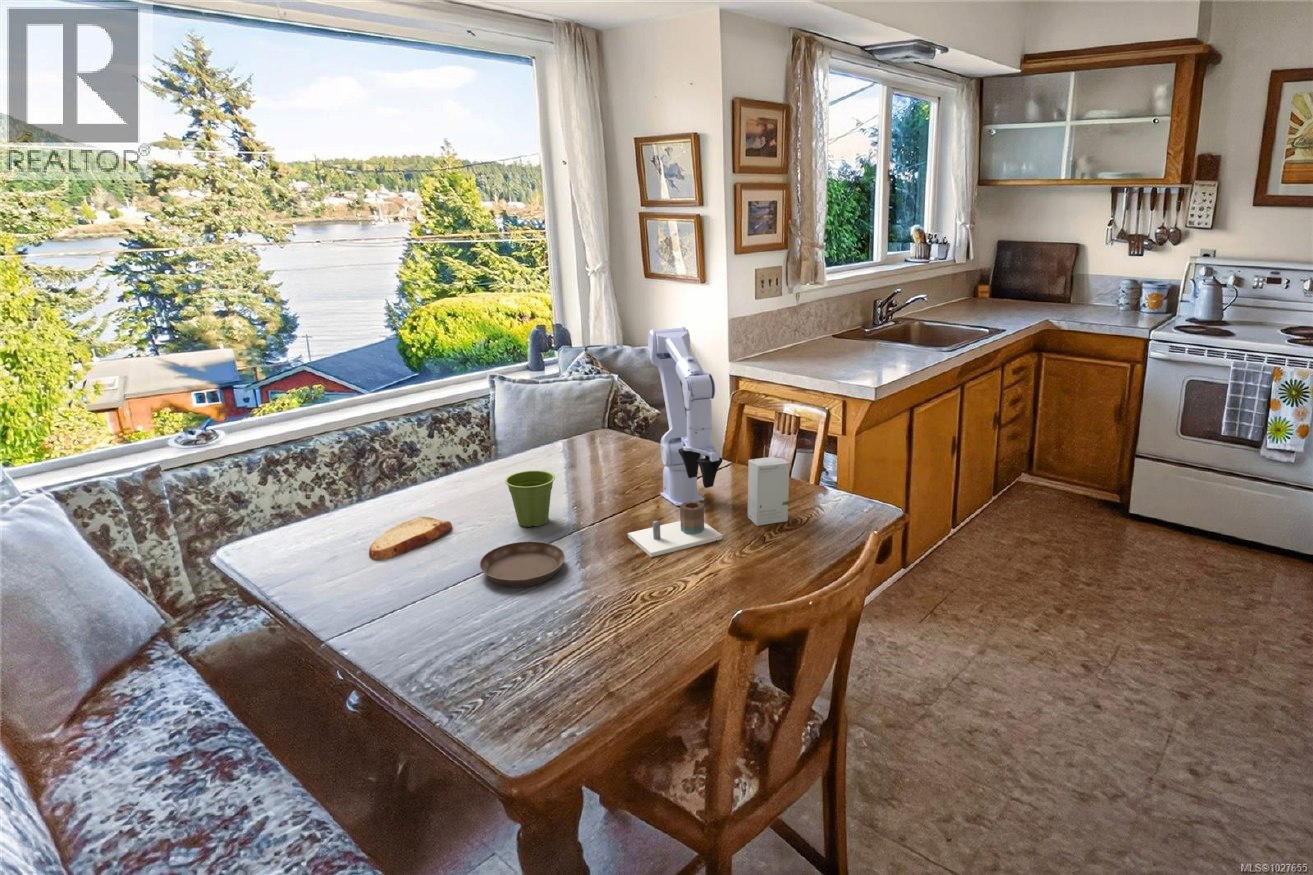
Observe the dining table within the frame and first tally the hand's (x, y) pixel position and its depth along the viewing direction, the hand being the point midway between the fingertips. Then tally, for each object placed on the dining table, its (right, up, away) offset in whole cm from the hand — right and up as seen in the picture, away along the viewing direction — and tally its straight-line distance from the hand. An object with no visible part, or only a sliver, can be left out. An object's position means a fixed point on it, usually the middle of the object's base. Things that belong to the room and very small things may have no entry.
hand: (700, 481), depth 183 cm
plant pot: (-40, -10, +6) cm, 42 cm away
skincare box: (+16, -9, +2) cm, 19 cm away
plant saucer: (-38, -18, -19) cm, 46 cm away
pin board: (-6, -12, -6) cm, 15 cm away
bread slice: (-67, -14, -2) cm, 69 cm away
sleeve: (-2, -11, -4) cm, 12 cm away
